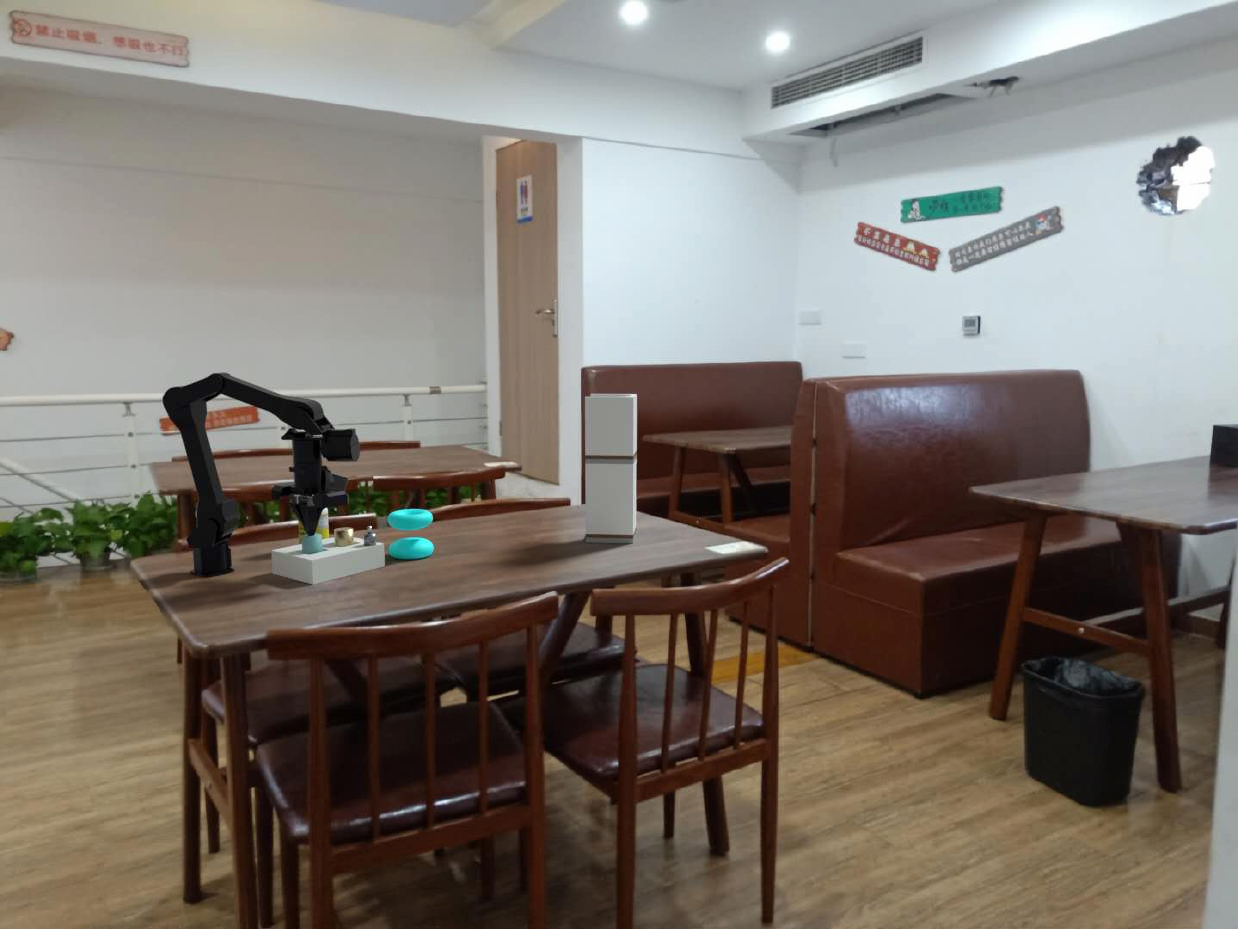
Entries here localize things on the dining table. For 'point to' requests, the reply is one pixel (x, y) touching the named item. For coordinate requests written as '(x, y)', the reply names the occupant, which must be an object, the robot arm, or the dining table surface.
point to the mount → (327, 561)
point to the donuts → (412, 545)
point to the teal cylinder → (311, 544)
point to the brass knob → (344, 537)
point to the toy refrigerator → (610, 467)
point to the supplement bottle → (321, 527)
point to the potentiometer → (369, 538)
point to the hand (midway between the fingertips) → (311, 535)
